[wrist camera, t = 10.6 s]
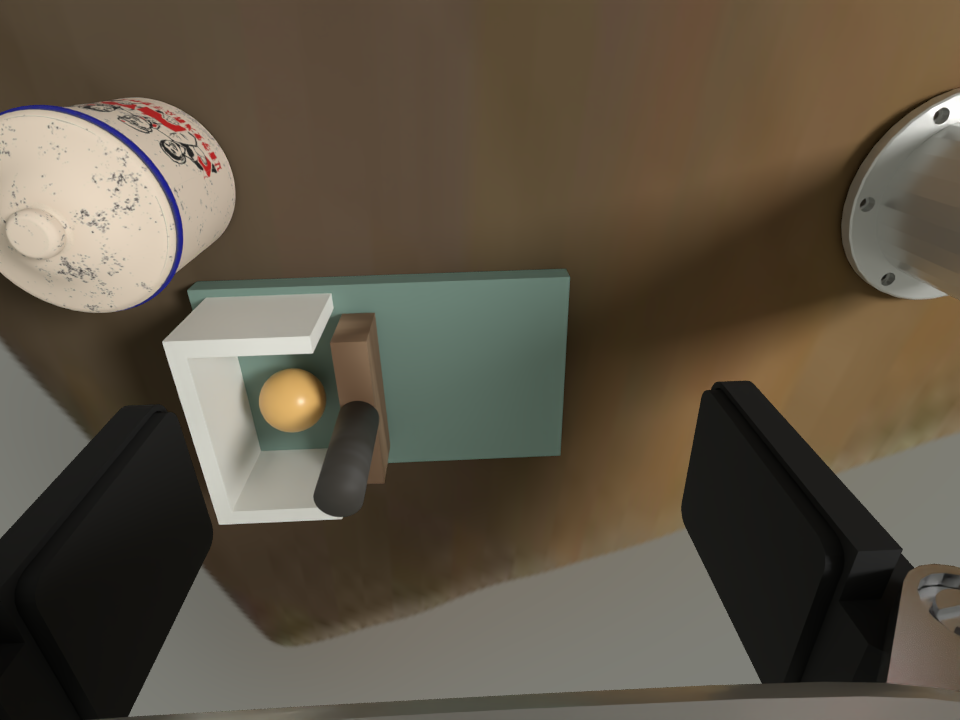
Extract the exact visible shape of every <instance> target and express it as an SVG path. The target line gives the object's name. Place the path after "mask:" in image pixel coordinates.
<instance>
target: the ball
mask: <svg viewBox="0 0 960 720" xmlns="http://www.w3.org/2000/svg"><path fill="white" fill-rule="evenodd" d="M325 406H326V393H325V389H324V387H323V385H322V383H321V382H320V381H319V379H318V378H317V377H316V376H314V375H313V374H311V373H310V372H308V371H305V370H302V369H297V368H290V369H284V370H281V371H279V372H277V373H275V374H273V375H272V376H271V377H270V378H269V379H268V380H267V381H266V382H265V383H264V385H263V387H262V389H261V392H260V395H259V407H260V411H261V413H262V415H263V417H264V419H265V420H266V421H267V422H268V423H269V424H270V425H271V426H272V427H274V428H276V429H278V430H280V431H284V432H291V433H293V432H300V431H304V430H306V429H308V428H310V427H312V426H313V425H314V424H315V423H317V421H318V420H319V419H320V418H321V416H322V415H323V412H324V410H325Z"/></svg>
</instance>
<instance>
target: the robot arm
mask: <svg viewBox="0 0 960 720" xmlns="http://www.w3.org/2000/svg"><path fill="white" fill-rule="evenodd" d="M841 230H842V244H843V247H844V250H845V253H846V257H847V259H848V261H849V263H850V264H851V266H852V268H853V269H854V271H855V272H856V273H857V274H858V275H859V276H860V277H861V278H862V279H863V280H864V281H865V282H866V283H868V284H869V285H871V286H873V287H875V288H876V289H878V290H880V291H882V292H884V293H887V294H889V295H892V296H894V297H898V298H905V299H911V300H919V299H933V298H938V297H943V296H948V295H950V296H952V297H954V298H956V299H958V300H960V88H957V89H954V90H951V91H949V92H946V93H944V94H942V95H939V96H937V97H934V98H932V99H931V100H929V101H927V102H926V103H924V104H922V105H921V106H919V107H917V108H916V109H914V110H912V111H911V112H910V113H908V114H907V115H906V116H905V117H904V118H902V119H901V120H900V121H899V122H897V123H896V124H895V125H894V126H893V127H891V128H890V129H889V131H888V132H887V133H886V134H885V135H884V136H883V137H882V138H881V139H880V140H879V141H878V142H877V144H876V145H875V146H874V147H873V148H872V150H871V151H870V153H869V154H868V156H867V157H866V158H865V160H864V161H863V163H862V164H861V166H860V168H859V170H858V172H857V174H856V176H855V178H854V180H853V182H852V184H851V186H850V188H849V191H848V195H847V198H846V201H845V204H844V208H843V216H842V223H841ZM681 511H682V518H683V522H684V525H685V527H686V529H687V531H688V533H689V535H690V537H691V539H692V541H693V543H694V545H695V547H696V550H697V552H698V554H699V556H700V558H701V560H702V562H703V564H704V566H705V568H706V570H707V572H708V574H709V576H710V578H711V580H712V582H713V584H714V586H715V588H716V590H717V593H718V595H719V597H720V599H721V601H722V603H723V605H724V607H725V609H726V611H727V613H728V615H729V617H730V619H731V621H732V623H733V625H734V627H735V629H736V631H737V633H738V635H739V637H740V640H741V641H742V644H743V645H744V648H745V650H746V652H747V654H748V656H749V658H750V660H751V662H752V664H753V666H754V668H755V670H756V672H757V674H758V676H759V678H760V680H761V682H762V684H738V685H707V686H689V687H666V688H646V689H625V690H604V691H584V692H564V693H543V694H523V695H506V696H487V697H467V698H448V699H429V700H412V701H394V702H376V703H357V704H339V705H321V706H303V707H287V708H270V709H253V710H237V711H221V712H203V713H186V714H170V715H153V716H137V717H128V715H129V713H130V711H131V709H132V707H133V705H134V703H135V701H136V699H137V697H138V695H139V693H140V691H141V689H142V687H143V685H144V682H145V680H146V678H147V676H148V674H149V672H150V670H151V668H152V666H153V664H154V662H155V660H156V658H157V656H158V654H159V652H160V649H161V648H162V646H163V644H164V641H165V639H166V637H167V635H168V633H169V631H170V629H171V627H172V625H173V623H174V621H175V619H176V617H177V615H178V612H179V611H180V609H181V606H182V604H183V602H184V600H185V598H186V596H187V594H188V592H189V590H190V588H191V586H192V584H193V582H194V580H195V578H196V576H197V574H198V572H199V570H200V568H201V566H202V563H203V561H204V559H205V557H206V555H207V553H208V551H209V549H210V547H211V544H212V539H213V528H212V524H211V520H210V517H209V514H208V511H207V508H206V505H205V502H204V499H203V495H202V492H201V489H200V486H199V483H198V480H197V477H196V474H195V470H194V467H193V464H192V461H191V458H190V455H189V452H188V449H187V445H186V442H185V439H184V436H183V433H182V430H181V427H180V424H179V421H178V418H177V416H176V415H175V414H174V413H172V412H167V410H166V409H165V407H164V406H162V405H160V404H157V405H132V406H124V407H123V408H121V409H120V410H119V411H118V412H117V413H116V414H115V415H114V416H113V418H112V419H111V420H110V421H109V422H108V423H107V424H106V425H105V426H104V427H103V428H102V429H101V431H100V432H99V433H98V434H97V435H96V436H95V437H94V438H93V439H92V440H91V441H90V442H89V443H88V445H87V446H86V447H85V448H84V449H83V450H82V451H81V452H80V453H79V454H78V456H76V458H75V459H74V460H73V461H72V462H71V463H70V464H69V465H68V466H67V467H66V468H65V470H63V472H62V473H61V474H60V475H59V476H58V477H57V478H56V479H55V480H54V481H53V482H52V483H51V485H50V486H49V487H48V488H47V489H46V490H45V491H44V492H43V493H42V494H41V496H40V497H38V499H37V500H36V501H35V502H34V503H33V504H32V505H31V506H30V507H29V508H28V509H27V510H26V512H25V513H24V514H23V515H22V516H21V517H20V518H19V519H18V520H17V521H16V522H15V524H14V525H13V526H12V527H11V528H10V529H9V530H8V531H7V532H6V533H5V534H4V535H3V536H2V538H1V539H0V720H960V568H958V567H955V566H949V565H940V564H929V565H921V566H918V567H916V568H914V567H913V566H912V565H911V564H910V563H909V562H908V560H907V559H906V558H905V557H904V556H903V555H902V554H901V552H902V550H903V549H902V548H901V547H900V546H899V545H898V543H897V542H896V541H895V540H894V539H893V538H892V537H891V536H890V535H889V533H888V532H887V531H886V530H885V529H884V528H883V527H882V526H881V525H880V524H879V522H878V521H877V520H876V519H875V518H874V517H873V516H872V515H871V514H870V513H869V511H868V510H867V509H866V508H865V507H864V506H863V505H862V504H861V503H860V501H859V500H858V499H857V498H856V497H855V496H854V495H853V494H852V493H851V492H850V490H849V489H848V488H847V487H846V486H845V485H844V484H843V483H842V481H841V480H840V479H839V478H838V477H837V476H836V475H835V474H834V473H833V471H832V470H831V469H830V468H829V467H828V466H827V465H826V464H825V463H824V461H823V460H822V459H821V458H820V457H819V456H818V455H817V454H816V453H815V451H814V450H813V449H812V448H811V447H810V446H809V445H808V444H807V443H806V441H805V440H804V439H803V438H802V437H801V436H800V435H799V434H798V433H797V431H796V430H795V429H794V428H793V427H792V426H791V425H790V424H789V423H788V422H787V420H786V419H785V418H784V417H783V416H782V415H781V414H780V413H779V412H778V410H777V409H776V408H775V407H774V406H773V405H772V404H771V403H770V402H769V400H768V399H767V398H766V397H765V396H764V395H763V394H762V393H761V392H760V390H759V389H758V388H757V387H756V386H755V385H754V384H753V383H752V382H750V381H727V382H716V383H715V384H714V385H713V386H712V388H711V390H706V391H704V393H703V394H702V398H701V403H700V408H699V413H698V419H697V424H696V429H695V435H694V440H693V446H692V451H691V456H690V462H689V467H688V472H687V478H686V483H685V489H684V494H683V499H682V506H681Z"/></svg>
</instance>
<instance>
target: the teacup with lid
mask: <svg viewBox="0 0 960 720" xmlns="http://www.w3.org/2000/svg"><path fill="white" fill-rule="evenodd" d="M234 206H235V183H234V178H233V174H232V171H231V168H230V165H229V162H228V160H227V158H226V156H225V154H224V152H223V151H222V149H221V147H220V146H219V144H218V143H217V142H216V140H215V139H214V138H213V136H212V135H211V134H210V133H209V132H208V131H207V130H206V129H205V128H204V127H203V126H202V125H201V124H200V123H199V122H198V121H196V120H195V119H194V118H192V117H191V116H190V115H188V114H187V113H185V112H183V111H182V110H180V109H178V108H176V107H174V106H172V105H169V104H167V103H164V102H161V101H157V100H153V99H148V98H122V99H115V100H109V101H102V102H95V103H88V104H81V105H75V106H68V107H58V106H49V105H30V106H21V107H17V108H13V109H9V110H7V111H4V112H1V113H0V272H1V273H2V274H3V275H4V276H5V277H6V278H7V279H9V280H10V281H11V282H13V283H14V284H15V285H17V286H18V287H20V288H21V289H23V290H24V291H26V292H28V293H30V294H31V295H33V296H35V297H37V298H39V299H41V300H43V301H46V302H48V303H51V304H53V305H56V306H60V307H63V308H67V309H71V310H75V311H82V312H91V313H106V312H115V311H122V310H127V309H130V308H134V307H137V306H139V305H141V304H144V303H146V302H147V301H149V300H151V299H152V298H154V297H155V296H156V295H158V294H159V293H160V292H161V291H162V290H163V289H164V288H165V287H166V286H167V285H168V284H169V282H170V281H171V279H172V278H173V276H174V275H175V273H176V272H177V271H179V270H180V269H181V268H182V267H184V266H185V265H186V264H187V263H189V262H190V261H191V260H192V259H194V258H195V257H196V256H197V255H199V254H200V253H201V252H202V251H204V250H205V249H206V248H207V247H208V246H210V245H211V244H212V243H213V242H215V241H216V240H217V239H218V238H219V237H220V236H221V235H222V233H223V232H224V231H225V229H226V228H227V226H228V224H229V222H230V220H231V217H232V214H233V211H234Z"/></svg>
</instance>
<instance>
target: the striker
mask: <svg viewBox="0 0 960 720" xmlns="http://www.w3.org/2000/svg"><path fill="white" fill-rule="evenodd" d="M330 347H331V353H332V359H333V366H334V372H335V378H336V384H337V391H338V397H339V403H340V411H339V414H338V417H337V421H336V424H335V427H334V430H333V433H332V436H331V440H330V443H329V446H328V449H327V452H326V456H325V459H324V462H323V465H322V468H321V472H320V475H319V478H318V481H317V484H316V488H315V491H314V495H313V498H314V502H315V505H316V506H317V507H318V508H319V509H320V510H321V511H322V512H323V513H325V514H327V515H330V516H334V517H347V516H350V515H353V514H355V513H356V512H358V511H359V510H360V508H361V507H362V505H363V501H364V496H365V491H366V486H367V484H378V483H384V482H385V476H386V470H387V463H388V457H389V451H390V438H389V430H388V421H387V412H386V404H385V395H384V387H383V378H382V369H381V361H380V352H379V344H378V335H377V326H376V318H375V313H350V314H342V315H341V317H340V320H339V322H338V325H337V327H336V329H335V332H334V334H333V337H332V339H331V341H330Z"/></svg>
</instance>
